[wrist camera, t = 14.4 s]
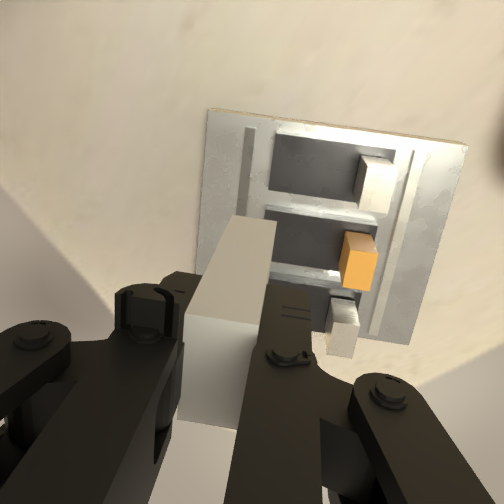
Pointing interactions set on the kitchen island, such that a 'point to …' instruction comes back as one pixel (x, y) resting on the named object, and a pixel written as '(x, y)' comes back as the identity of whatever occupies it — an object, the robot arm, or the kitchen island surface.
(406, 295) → the panel
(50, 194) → the kitchen island surface
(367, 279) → the block
